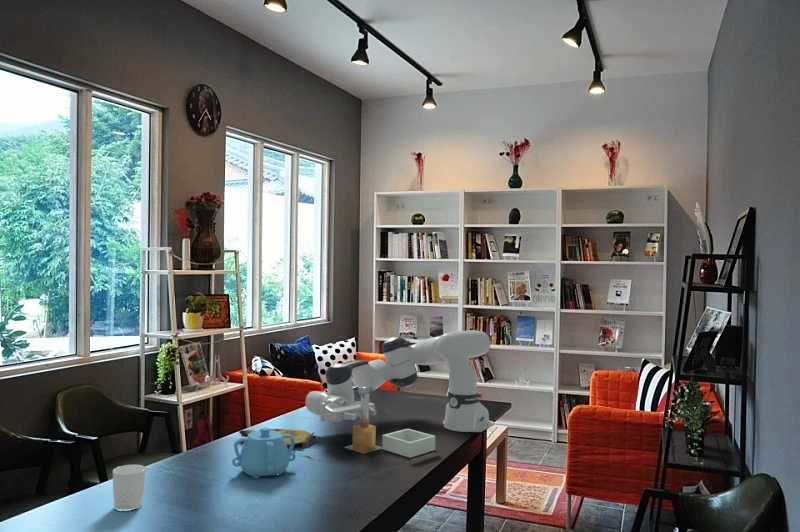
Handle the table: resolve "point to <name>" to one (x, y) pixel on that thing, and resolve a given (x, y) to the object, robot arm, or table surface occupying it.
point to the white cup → (128, 486)
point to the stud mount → (365, 450)
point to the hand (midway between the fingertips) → (365, 415)
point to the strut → (364, 424)
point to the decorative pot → (264, 453)
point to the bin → (408, 443)
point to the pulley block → (299, 436)
